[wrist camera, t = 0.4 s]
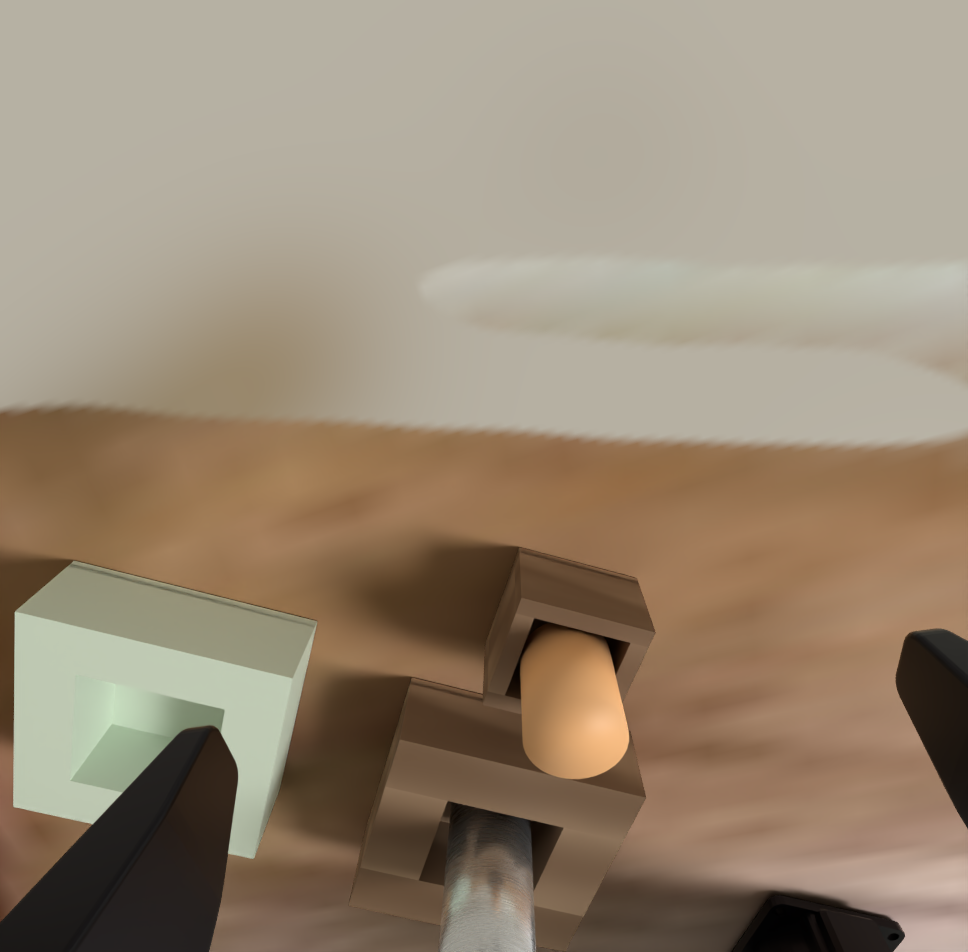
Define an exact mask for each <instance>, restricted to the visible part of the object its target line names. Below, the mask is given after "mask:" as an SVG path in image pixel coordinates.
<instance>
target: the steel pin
mask: <svg viewBox="0 0 968 952" xmlns="http://www.w3.org/2000/svg"><path fill="white" fill-rule="evenodd" d="M438 952H536V938H535V915H534V892H533V868H532V845H531V822H530V820H528V819H524V818H520V817H515V816H511V815H507V814H502V813H498V812H494V811H489V810H485V809H481V808H476V807H472V806H468V805H463V804H459V803H454V802H451V809H450V821H449V833H448V844H447V856H446V867H445V879H444V891H443V902H442V914H441V926H440V937H439V949H438Z"/></svg>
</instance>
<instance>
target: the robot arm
mask: <svg viewBox="0 0 968 952" xmlns="http://www.w3.org/2000/svg"><path fill="white" fill-rule="evenodd" d="M896 687H897V690H898V694H899V696H900V698H901V700H902V702H903V704H904V706H905V708H906V710H907V712H908V714H909V716H910V718H911V720H912V722H913V724H914V726H915V728H916V730H917V732H918V734H919V736H920V738H921V740H922V743H923V745H924V747H925V749H926V751H927V753H928V755H929V757H930V759H931V761H932V763H933V765H934V767H935V769H936V771H937V773H938V775H939V777H940V779H941V781H942V783H943V785H944V787H945V789H946V791H947V793H948V795H949V797H950V799H951V800H952V802H953V804H954V806H955V808H956V810H957V812H958V813H959V815H960V817H961V818H962V820H963V822H964V823H965V825H966V827H967V828H968V641H967V640H965V639H963V638H961V637H960V636H958V635H956V634H954V633H952V632H950V631H948V630H945V629H929V630H921V631H914V632H911V633H909V634H908V635H907V636H906V637H905V640H904V643H903V648H902V652H901V656H900V660H899V664H898V668H897V672H896ZM237 786H238V768H237V764H236V761H235V759H234V757H233V755H232V754H231V752H230V750H229V748H228V746H227V744H226V742H225V740H224V738H223V736H222V734H221V733H220V731H219V729H218V728H216V727H215V726H213V725H207V726H200V727H192V728H187V729H184V730H182V731H181V732H180V733H178V734H177V735H176V736H175V737H174V739H173V740H172V741H171V742H170V743H169V744H168V745H167V746H166V747H165V748H164V749H163V750H162V751H161V752H160V753H159V754H158V755H157V757H156V758H155V759H154V760H153V761H152V762H151V763H150V764H149V765H148V766H147V767H146V768H145V769H144V770H143V771H142V772H141V774H140V775H139V776H138V777H137V778H136V779H135V780H134V781H133V782H132V783H131V784H130V785H129V786H128V787H127V788H126V789H125V791H124V792H123V793H122V794H121V795H120V796H119V797H118V798H117V799H116V800H115V801H114V802H113V803H112V804H111V805H110V806H109V807H108V809H107V810H106V811H105V812H104V813H103V814H102V815H101V816H100V817H99V818H98V819H97V820H96V821H95V822H94V823H93V824H92V826H91V827H90V828H89V829H88V830H87V831H86V832H85V833H84V834H83V835H82V836H81V837H80V838H79V839H78V840H77V841H76V843H75V844H74V845H73V846H72V847H71V848H70V849H69V850H68V851H67V852H66V853H65V854H64V855H63V856H62V857H61V858H60V859H59V861H58V862H57V863H56V864H55V865H54V866H53V867H52V868H51V869H50V870H49V871H48V872H47V873H46V874H45V875H44V876H43V878H42V879H41V880H40V881H39V882H38V883H37V884H36V885H35V886H34V887H33V888H32V889H31V890H30V891H29V892H28V893H27V895H26V896H25V897H24V898H23V899H22V900H21V901H20V902H19V903H18V904H17V905H16V906H15V907H14V908H13V909H12V910H11V911H10V913H9V914H8V915H7V916H6V917H5V918H4V919H3V920H2V921H1V922H0V952H209V950H210V946H211V941H212V937H213V933H214V929H215V925H216V921H217V916H218V912H219V907H220V903H221V897H222V891H223V885H224V878H225V871H226V864H227V857H228V850H229V843H230V836H231V828H232V821H233V814H234V807H235V800H236V793H237ZM904 937H905V934H904V932H903V930H902V928H901V926H900V925H899V923H898V922H895V921H892V920H887V919H883V918H878V917H874V916H870V915H865V914H861V913H856V912H852V911H848V910H843V909H839V908H835V907H830V906H826V905H821V904H817V903H813V902H808V901H804V900H799V899H795V898H791V897H786V896H781V895H777V896H773V897H771V898H769V899H768V900H767V901H766V903H765V904H764V906H763V907H762V909H761V910H760V912H759V913H758V915H757V916H756V918H755V919H754V920H753V922H752V923H751V925H750V926H749V928H748V929H747V931H746V932H745V934H744V935H743V937H742V938H741V940H740V941H739V942H738V944H737V945H736V947H735V948H734V950H733V951H732V952H893V951H894V950H895V949H896V948H897V946H898V945H899V944H900V943H901V942H902V940H903V939H904Z"/></svg>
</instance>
